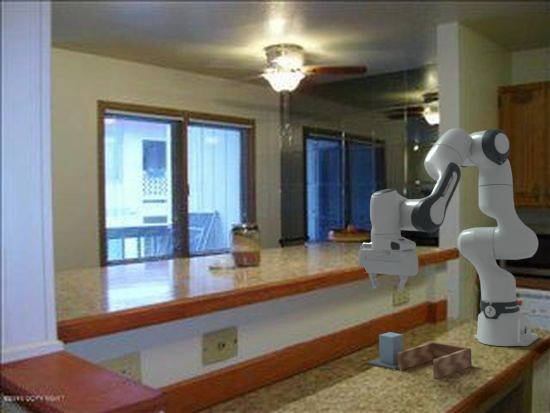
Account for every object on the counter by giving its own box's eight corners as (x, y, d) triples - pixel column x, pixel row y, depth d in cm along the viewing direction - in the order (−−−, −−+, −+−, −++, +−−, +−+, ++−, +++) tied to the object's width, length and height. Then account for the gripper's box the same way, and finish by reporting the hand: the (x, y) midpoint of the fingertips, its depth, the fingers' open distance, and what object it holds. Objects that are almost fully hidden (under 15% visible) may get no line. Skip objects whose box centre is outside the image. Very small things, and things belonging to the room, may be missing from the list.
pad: (388, 357, 177) (388, 355, 177) (414, 363, 170) (414, 361, 170) (367, 363, 171) (367, 361, 171) (393, 370, 163) (393, 368, 163)
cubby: (432, 357, 175) (432, 341, 175) (471, 365, 165) (471, 348, 165) (398, 369, 164) (397, 352, 164) (437, 378, 154) (436, 360, 154)
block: (390, 358, 174) (389, 332, 174) (403, 361, 170) (402, 334, 170) (380, 361, 171) (378, 334, 171) (393, 364, 167) (392, 337, 167)
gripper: (353, 243, 176) (355, 287, 177) (407, 244, 161) (409, 293, 161) (366, 241, 181) (368, 284, 181) (420, 243, 165) (422, 290, 165)
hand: (388, 289), depth 171 cm, fingers open, 8 cm apart
